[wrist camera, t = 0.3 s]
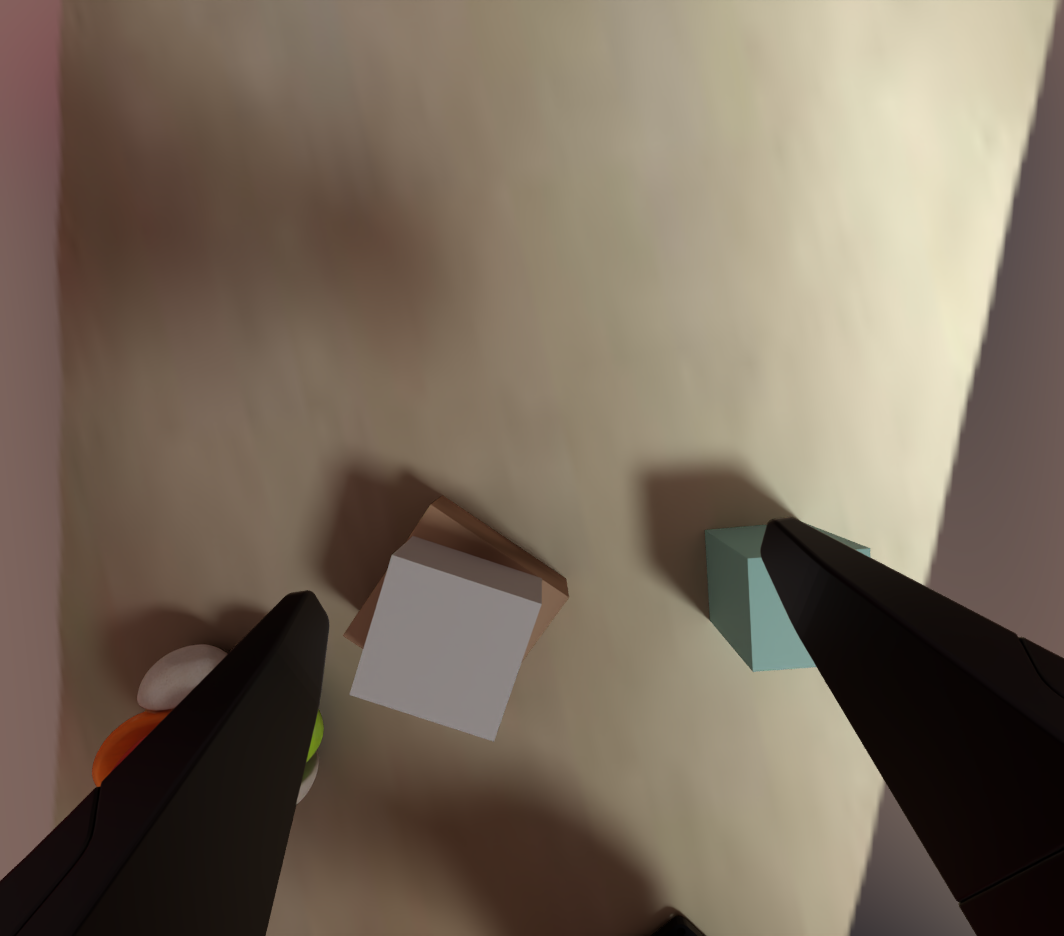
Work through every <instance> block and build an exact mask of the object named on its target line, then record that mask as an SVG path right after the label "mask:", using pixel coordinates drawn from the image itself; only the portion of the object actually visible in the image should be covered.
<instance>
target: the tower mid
mask: <svg viewBox="0 0 1064 936" xmlns="http://www.w3.org/2000/svg"><path fill="white" fill-rule="evenodd" d="M541 605H542V578H540V577H537V576H534V575H531V574H528V573H525V572H522V571H518V570H515V569H512V568H509V567H506V566H503V565H500V564H497V563H494V562H491V561H488V560H485V559H482V558H479V557H476V556H473V555H470V554H467V553H464V552H461V551H458V550H455V549H452V548H449V547H446V546H442V545H439V544H436V543H433V542H430V541H427V540H424V539H421V538H418V537H415V536H412V537H411V538H410V539H409V540H408V541H407V542H406V543H405V544H403V545H402V546H401V547H400V548H399V549H398V550H397V551H396V552H395V553H393V554H392V556H391V559H390V563H389V566H388V569H387V573H386V576H385V579H384V583H383V586H382V589H381V592H380V596H379V599H378V602H377V606H376V609H375V612H374V616H373V619H372V622H371V626H370V629H369V632H368V635H367V639H366V642H365V645H364V649H363V652H362V655H361V659H360V662H359V665H358V668H357V672H356V675H355V678H354V682H353V685H352V688H351V692H350V695H352V696H355V697H358V698H361V699H364V700H367V701H370V702H373V703H376V704H379V705H383V706H386V707H389V708H392V709H395V710H398V711H401V712H404V713H407V714H410V715H413V716H416V717H420V718H423V719H426V720H429V721H432V722H435V723H438V724H441V725H444V726H447V727H450V728H453V729H456V730H460V731H463V732H466V733H469V734H472V735H475V736H478V737H481V738H484V739H487V740H490V741H493V742H494V740H495V737H496V734H497V731H498V728H499V725H500V723H501V720H502V717H503V714H504V711H505V708H506V705H507V702H508V700H509V697H510V694H511V691H512V688H513V685H514V682H515V679H516V677H517V674H518V671H519V668H520V665H521V662H522V659H523V656H524V654H525V651H526V648H527V645H528V642H529V639H530V636H531V633H532V631H533V628H534V625H535V622H536V619H537V616H538V613H539V610H540V608H541Z"/></svg>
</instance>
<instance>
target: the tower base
mask: <svg viewBox="0 0 1064 936" xmlns="http://www.w3.org/2000/svg"><path fill="white" fill-rule="evenodd" d="M412 536H415V537H418V538H421V539H424V540H427V541H430V542H433V543H436V544H439V545H442V546H446V547H449V548H452V549H455V550H458V551H461V552H464V553H467V554H470V555H473V556H476V557H479V558H482V559H485V560H488V561H491V562H494V563H497V564H500V565H503V566H506V567H509V568H512V569H515V570H518V571H522V572H525V573H528V574H531V575H534V576H537V577H540V578H542V605H541V608H540V610H539V613H538V616H537V619H536V622H535V625H534V628H533V631H532V633H531V636H530V639H529V642H528V645H527V648H526V651H525V654H524V656H523V659H522V661H523V660H524V659H525V657H526V656H527V655H528V653H529V652H530V650H531V649H532V648H533V646H534V645H535V644H536V642H537V641H538V639H539V638H540V637H541V635H542V634H543V633H544V631H545V630H546V628H547V627H548V626H549V624H550V623H551V622H552V620H553V619H554V617H555V616H556V615H557V613H558V612H559V611H560V609H561V608H562V606H563V605H564V604H565V602H566V601H567V600H568V598H569V594H568V587H567V581H566V578H564V577H563V576H561V575H560V574H558V573H557V572H555V571H554V570H552V569H551V568H549V567H548V566H546V565H545V564H543V563H542V562H540V561H539V560H538V559H536V558H535V557H533V556H532V555H530V554H529V553H527V552H526V551H524V550H523V549H521V548H520V547H518V546H517V545H515V544H514V543H512V542H511V541H509V540H508V539H506V538H505V537H503V536H502V535H501V534H499V533H498V532H496V531H495V530H493V529H492V528H490V527H489V526H487V525H486V524H484V523H483V522H481V521H480V520H478V519H477V518H475V517H474V516H472V515H471V514H469V513H468V512H466V511H465V510H463V509H462V508H461V507H459V506H458V505H456V504H455V503H453V502H452V501H450V500H449V499H447V498H446V497H444V496H443V495H442V496H441V497H440V498H438V499H437V500H436V501H434V502H433V503H432V504H430V506H429V507H428V509H427V510H426V512H425V513H424V515H423V516H422V518H421V519H420V521H419V522H418V524H417V525H416V527H415V528H414V530H413V531H412V533H411V534H410V536H409V537H408V539H407V540H406V542H407V541H408V540H409V539H410V538H411V537H412ZM406 542H405V543H406ZM405 543H404V544H405ZM386 573H387V570H386V572H385V573H384V575H383V576H382V578H381V579H380V581H379V582H378V584H377V585H376V587H375V588H374V590H373V591H372V593H371V594H370V596H369V597H368V599H367V600H366V602H365V603H364V605H363V606H362V608H361V609H360V611H359V612H358V614H357V615H356V617H355V618H354V620H353V621H352V623H351V624H350V626H349V627H348V629H347V630H346V632H345V633H344V635H343V636H344V637H345V638H347V639H348V640H350V641H351V642H353V643H355V644H356V645H358V646H359V647H361V648H362V649H364V645H365V642H366V639H367V635H368V632H369V629H370V626H371V622H372V619H373V616H374V612H375V609H376V606H377V602H378V599H379V596H380V592H381V589H382V586H383V583H384V579H385V576H386ZM521 663H522V662H521Z"/></svg>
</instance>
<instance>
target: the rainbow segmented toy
mask: <svg viewBox="0 0 1064 936" xmlns="http://www.w3.org/2000/svg"><path fill="white" fill-rule="evenodd" d="M226 655H227V653H226V652H224V651H223V650H221V649H219V648H217V647H214V646H211V645H206V644H198V645H191V646H186V647H183V648H180V649H177V650H175V651H172V652H170V653H168V654H167V655H165V656H164V657H162V658H161V659H160V660H158V661H157V662H156V663H155V664H154V665H153V666H152V667H151V668H150V669H149V670H148V672H147V673H146V675H145V676H144V678H143V680H142V682H141V684H140V686H139V690H138V695H137V701H138V704H139V705H140V706H141V707H143V708H145V709H146V710H145V712H143V713H140V714H137V715H135V716H134V717H132V718H130V719H128V720H127V721H126V722H124V723H123V724H121V725H120V726H119V727H118V728H117V729H115V730H114V731H113V732H112V733H111V734H110V735H109V736H108V737H107V739H106V740H105V741H104V743H103V744H102V746H101V747H100V749H99V751H98V753H97V755H96V757H95V760H94V763H93V768H92V776H93V780H94V782H95V785H96V786H97V787H99V786H100V785H101V782H102V781H103V780H104V779H105V778H106V777H107V776H108V775H109V774H110V773H111V772H112V771H113V770H114V769H115V768H116V767H117V766H118V765H119V764H120V763H121V762H122V760H123V759H124V758H125V757H126V756H127V755H128V754H129V753H130V752H131V751H132V750H133V749H134V748H135V747H136V746H137V745H138V744H139V743H140V742H141V741H142V740H143V739H144V738H145V737H146V736H147V735H148V734H149V733H150V732H151V731H152V730H153V729H154V728H155V727H156V726H157V725H158V724H159V723H160V722H161V721H162V720H163V719H164V718H165V717H166V716H167V715H168V714H169V713H170V712H171V711H172V710H173V709H174V708H175V707H176V706H177V705H178V704H179V703H180V702H181V701H182V700H183V699H184V698H185V697H186V696H187V695H188V694H189V693H190V692H191V691H192V690H193V689H194V688H195V687H196V686H197V685H198V684H199V683H200V682H201V681H202V680H203V679H204V678H205V677H206V676H207V675H208V674H209V673H210V672H211V671H212V670H213V669H214V668H215V667H216V666H217V665H218V664H219V662H220V661H221V660H222V659H223V658H224V657H225V656H226ZM323 730H324V726H323V720H322V716H321V713H320V711H319V709H318V714H317V718H316V723H315V727H314V731H313V735H312V740H311V744H310V748H309V752H308V757H307V761H306V765H305V769H304V774H303V778H302V782H301V787H300V791H299V795H298V799H297V804H298V803H299V802H300V801H301V800H302V799H303V798H304V796H305V795H306V794H307V793H308V791H309V790H310V788H311V786H312V784H313V782H314V780H315V778H316V775H317V771H318V766H319V755H318V752H317V751H316V750H317V748H318V747H319V745H320V743H321V740H322V737H323ZM297 804H296V805H297Z"/></svg>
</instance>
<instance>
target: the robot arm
mask: <svg viewBox="0 0 1064 936" xmlns="http://www.w3.org/2000/svg"><path fill="white" fill-rule="evenodd" d="M760 553H761V558H762V561H763V563H764V565H765V567H766V570H767V572H768V574H769V576H770V578H771V580H772V583H773V585H774V587H775V589H776V591H777V593H778V596H779V598H780V600H781V602H782V604H783V606H784V609H785V611H786V613H787V615H788V617H789V619H790V621H791V623H792V625H793V627H794V629H795V631H796V633H797V635H798V636H799V638H800V640H801V642H802V643H803V645H804V647H805V648H806V650H807V652H808V653H809V655H810V657H811V658H812V660H813V662H814V663H815V665H816V667H817V668H818V670H819V672H820V673H821V675H822V677H823V678H824V680H825V682H826V683H827V685H828V687H829V688H830V690H831V692H832V693H833V695H834V697H835V699H836V700H837V702H838V704H839V705H840V707H841V709H842V710H843V712H844V714H845V715H846V717H847V719H848V720H849V722H850V724H851V725H852V727H853V729H854V730H855V732H856V734H857V735H858V737H859V739H860V740H861V742H862V744H863V745H864V747H865V749H866V750H867V752H868V754H869V755H870V757H871V759H872V760H873V762H874V764H875V765H876V767H877V769H878V771H879V772H880V774H881V776H882V777H883V779H884V781H885V782H886V784H887V785H888V787H889V789H890V790H891V792H892V794H893V796H894V797H895V799H896V800H897V802H898V804H899V806H900V807H901V809H902V811H903V812H904V814H905V816H906V817H907V819H908V821H909V822H910V824H911V826H912V827H913V829H914V831H915V832H916V834H917V836H918V837H919V839H920V841H921V842H922V844H923V846H924V848H925V849H926V851H927V853H928V854H929V856H930V858H931V859H932V861H933V863H934V864H935V866H936V868H937V869H938V871H939V872H940V874H941V876H942V878H943V879H944V881H945V882H946V884H947V886H948V888H949V889H950V891H951V893H952V894H953V896H954V898H955V899H956V901H958V902H959V907H960V908H961V910H962V912H963V914H964V915H965V917H966V919H967V920H968V922H969V923H970V925H971V927H972V929H973V930H974V932H975V934H976V935H977V936H1064V658H1063V657H1060V656H1059V655H1056V654H1055V653H1053V652H1050V651H1049V650H1047V649H1044V648H1043V647H1041V646H1039V645H1037V644H1035V643H1033V642H1032V641H1029V640H1028V639H1026V638H1024V637H1018V636H1017V634H1016V633H1014V632H1012V631H1010V630H1008V629H1006V628H1004V627H1002V626H1001V625H999V624H997V623H995V622H993V621H991V620H989V619H987V618H985V617H983V616H981V615H980V614H978V613H975V612H974V611H972V610H970V609H968V608H966V607H964V606H962V605H960V604H958V603H957V602H955V601H953V600H951V599H949V598H947V597H945V596H943V595H941V594H939V593H937V592H935V591H934V590H932V589H930V588H928V587H926V586H924V585H922V584H920V583H918V582H916V581H914V580H912V579H910V578H909V577H907V576H905V575H903V574H901V573H899V572H897V571H895V570H893V569H891V568H889V567H887V566H886V565H884V564H882V563H880V562H878V561H876V560H874V559H872V558H870V557H868V556H866V555H864V554H863V553H861V552H859V551H857V550H855V549H853V548H851V547H849V546H847V545H845V544H843V543H841V542H840V541H838V540H836V539H834V538H832V537H830V536H828V535H826V534H824V533H822V532H820V531H818V530H817V529H815V528H813V527H811V526H809V525H807V524H805V523H803V522H801V521H799V520H797V519H795V518H793V517H783V518H777V519H772V520H770V521H769V522H768V523H767V526H766V530H765V533H764V537H763V540H762V544H761V548H760ZM328 633H329V619H328V616H327V614H326V612H325V610H324V609H323V607H322V605H321V604H320V602H319V601H318V599H317V597H316V596H315V594H314V593H313V592H312V591H308V590H307V591H300V592H293V593H290V594H288V595H286V596H285V597H284V598H283V599H282V600H281V601H280V602H279V603H278V604H277V605H276V606H275V607H274V608H273V609H272V610H271V611H270V612H269V613H268V614H267V615H266V616H265V617H264V618H263V619H262V620H261V621H260V622H259V623H258V624H257V625H256V626H255V627H254V628H253V629H252V630H251V631H250V632H249V633H248V634H247V635H246V636H245V637H244V638H243V639H242V640H241V641H240V642H239V643H238V644H237V645H236V646H235V647H234V648H233V649H232V650H231V651H230V652H229V653H228V654H227V655H226V656H225V657H224V658H223V659H222V660H221V661H220V662H219V664H218V665H217V666H216V667H215V668H214V669H213V670H212V671H211V672H210V673H209V674H208V675H207V676H206V677H205V678H204V679H203V680H202V681H201V682H200V683H199V684H198V685H197V686H196V687H195V688H194V689H193V690H192V691H191V692H190V693H189V694H188V695H187V696H186V697H185V698H184V699H183V700H182V701H181V702H180V703H179V704H178V705H177V706H176V707H175V708H174V709H173V710H172V711H171V712H170V713H169V714H168V715H167V716H166V717H165V718H164V719H163V720H162V721H161V722H160V723H159V724H158V725H157V726H156V727H155V728H154V729H153V730H152V731H151V732H150V733H149V734H148V735H147V736H146V737H145V738H144V739H143V740H142V741H141V742H140V743H139V744H138V745H137V746H136V747H135V748H134V749H133V750H132V751H131V752H130V753H129V754H128V755H127V756H126V757H125V758H124V759H123V760H122V762H121V763H120V764H119V765H118V766H117V767H116V768H115V769H114V770H113V771H112V772H111V773H110V774H109V775H108V776H107V777H106V778H105V779H104V780H103V781H102V782H101V785H100V786H99V787H96V788H95V789H94V790H93V791H92V792H91V793H90V794H89V795H88V796H87V797H86V798H85V799H84V800H83V801H82V802H81V803H80V804H79V805H78V806H77V807H76V808H75V809H74V810H73V811H72V812H71V813H70V814H69V815H68V816H67V817H66V818H65V819H64V820H63V821H62V822H61V823H60V824H59V825H58V826H57V827H56V828H55V829H54V830H53V831H52V832H51V833H50V834H48V835H47V836H46V838H45V839H43V840H42V841H41V842H40V843H39V844H38V846H36V847H35V848H34V849H33V850H32V851H31V852H30V853H29V854H28V855H27V856H26V857H25V858H24V859H23V860H22V861H21V862H20V863H19V864H18V865H17V866H16V867H14V869H12V870H11V871H10V872H9V873H8V874H7V875H6V876H5V877H4V878H3V879H2V880H1V881H0V936H266V931H267V927H268V923H269V919H270V914H271V910H272V906H273V902H274V897H275V893H276V889H277V884H278V880H279V876H280V872H281V867H282V863H283V859H284V855H285V850H286V846H287V842H288V838H289V833H290V829H291V825H292V821H293V816H294V812H295V808H296V804H297V799H298V795H299V791H300V787H301V782H302V778H303V774H304V769H305V765H306V761H307V757H308V752H309V748H310V744H311V740H312V735H313V731H314V727H315V723H316V718H317V714H318V709H319V703H320V697H321V690H322V682H323V674H324V666H325V658H326V650H327V641H328ZM652 936H703V935H702V934H701V933H700V932H699V931H698V930H697V929H696V928H695V927H694V926H693V925H692V924H690V923H689V922H688V921H687V920H686V919H685V918H683V917H680V916H677V917H674V918H673V919H671V920H670V921H669V922H668V923H667V924H665V925H664V926H663V927H662V928H661V929H659V930H658V931H657V932H656V933H655V934H654V935H652Z"/></svg>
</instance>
